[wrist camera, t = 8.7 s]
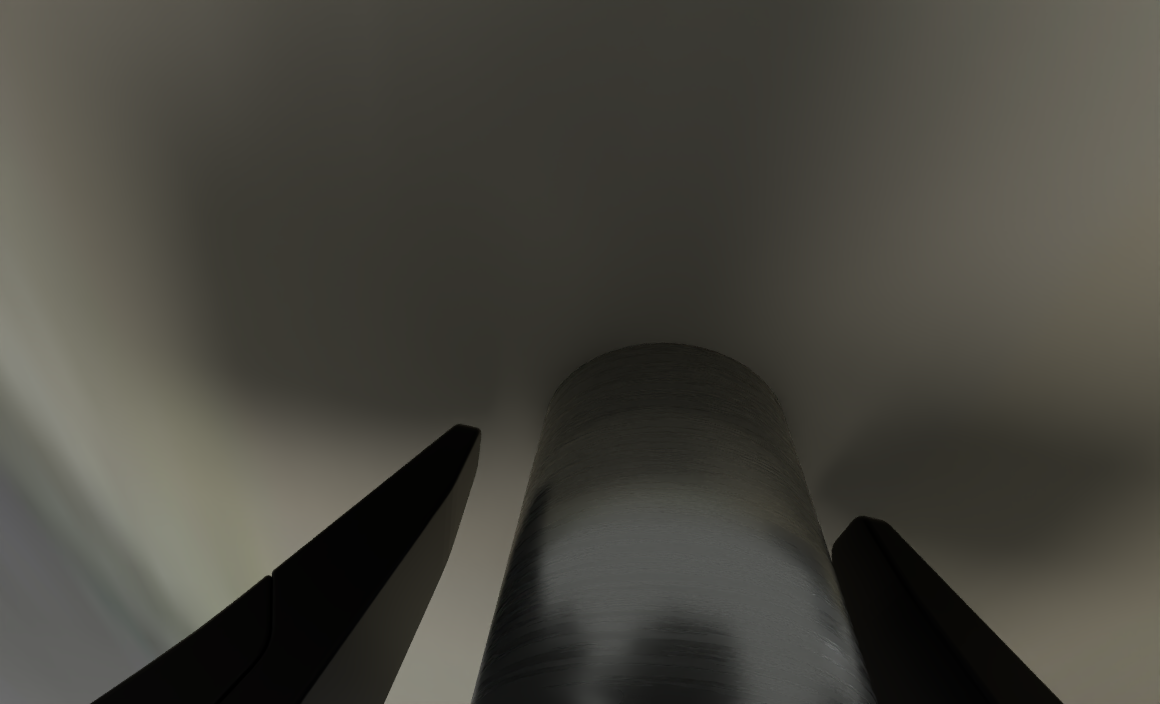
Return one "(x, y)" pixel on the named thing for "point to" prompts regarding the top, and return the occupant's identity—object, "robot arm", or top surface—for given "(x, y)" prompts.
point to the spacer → (669, 549)
